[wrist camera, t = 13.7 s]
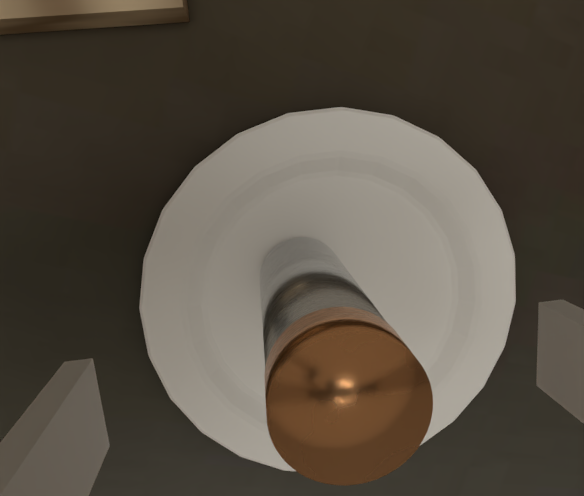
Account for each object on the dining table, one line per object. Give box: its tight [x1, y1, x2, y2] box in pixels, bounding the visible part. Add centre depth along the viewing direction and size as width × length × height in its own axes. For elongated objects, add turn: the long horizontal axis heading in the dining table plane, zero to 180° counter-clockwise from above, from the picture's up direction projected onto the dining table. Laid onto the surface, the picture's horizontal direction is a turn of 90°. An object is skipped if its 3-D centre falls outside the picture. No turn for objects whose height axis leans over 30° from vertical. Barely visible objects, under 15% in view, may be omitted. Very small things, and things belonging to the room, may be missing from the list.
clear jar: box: [260, 237, 433, 485], centre depth 19 cm, size 4×4×13 cm
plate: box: [139, 107, 516, 471], centre depth 27 cm, size 21×21×2 cm
